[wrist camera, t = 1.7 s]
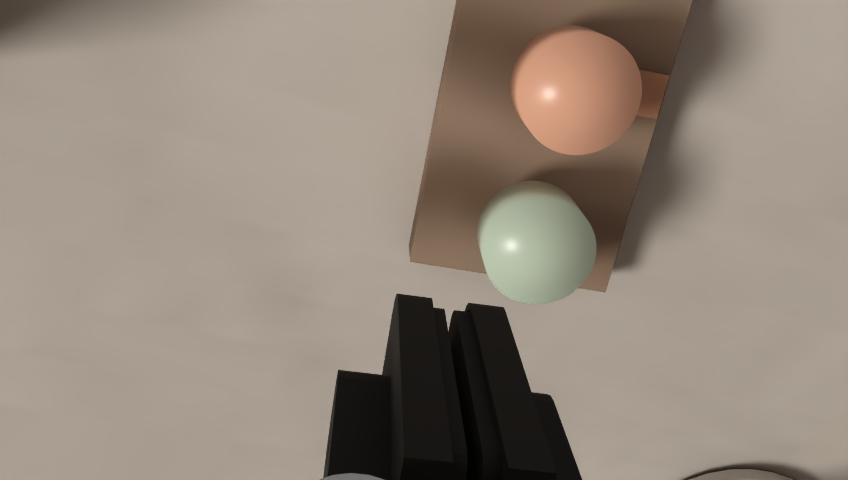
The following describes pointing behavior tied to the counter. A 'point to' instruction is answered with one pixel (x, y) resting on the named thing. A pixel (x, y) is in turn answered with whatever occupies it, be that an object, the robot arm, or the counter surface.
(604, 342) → the counter surface
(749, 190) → the counter surface
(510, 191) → the button sage
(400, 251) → the counter surface
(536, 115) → the button terracotta
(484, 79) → the button board
